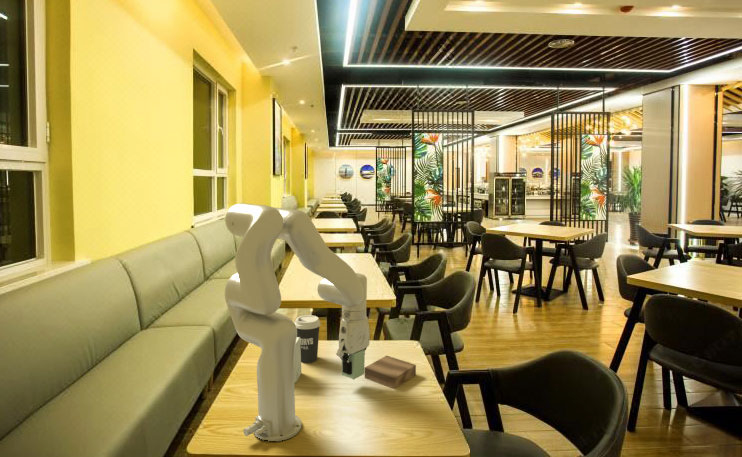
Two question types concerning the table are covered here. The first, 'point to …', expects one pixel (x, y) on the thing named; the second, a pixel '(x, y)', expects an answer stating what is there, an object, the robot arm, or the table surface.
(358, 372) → the sage block
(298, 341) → the supplement box
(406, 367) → the block
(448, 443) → the table surface
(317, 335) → the coffee cup
